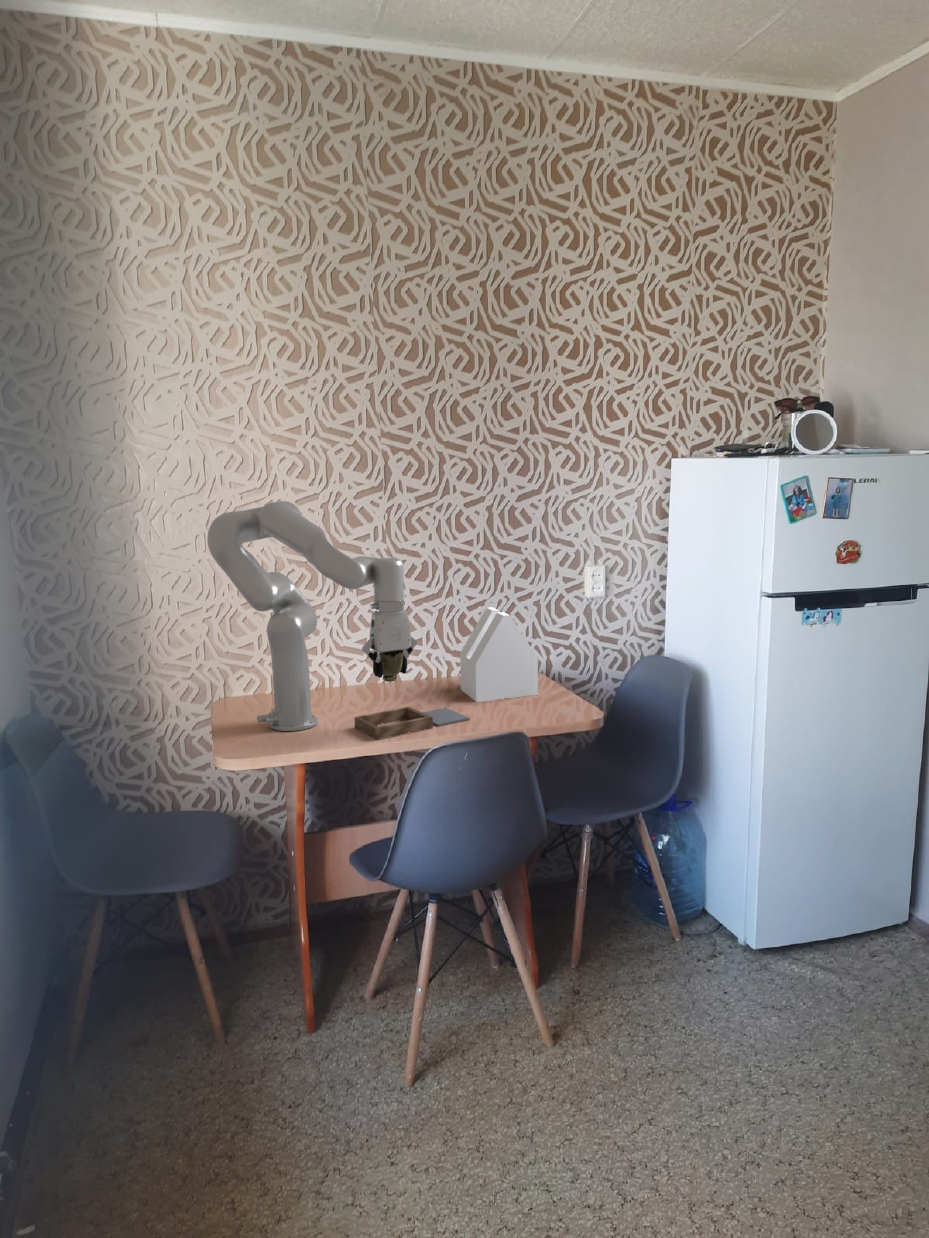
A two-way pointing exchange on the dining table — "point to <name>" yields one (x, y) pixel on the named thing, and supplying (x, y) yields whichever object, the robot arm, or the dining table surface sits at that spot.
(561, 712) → the dining table surface
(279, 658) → the robot arm
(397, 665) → the cup
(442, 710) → the mat
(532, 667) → the grey slotted house block
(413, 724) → the frame
